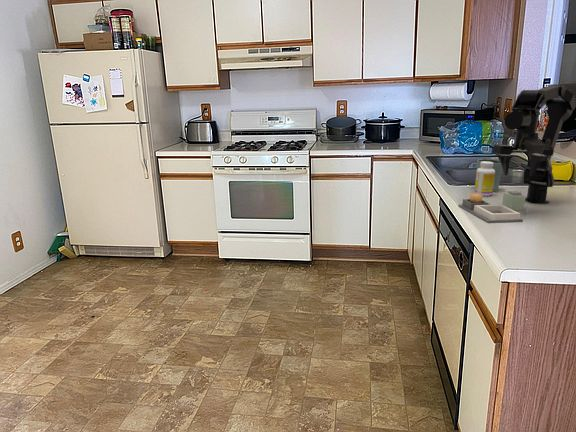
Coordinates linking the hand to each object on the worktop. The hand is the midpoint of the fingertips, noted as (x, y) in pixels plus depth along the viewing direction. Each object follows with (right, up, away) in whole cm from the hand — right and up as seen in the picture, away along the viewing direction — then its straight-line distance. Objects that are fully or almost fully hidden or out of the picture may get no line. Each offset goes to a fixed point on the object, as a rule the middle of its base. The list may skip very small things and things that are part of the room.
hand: (518, 175), depth 151 cm
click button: (-14, -9, +3) cm, 17 cm away
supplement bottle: (-2, -5, +24) cm, 25 cm away
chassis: (-11, -13, -2) cm, 17 cm away
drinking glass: (+4, -3, +32) cm, 33 cm away
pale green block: (0, -11, +5) cm, 12 cm away
